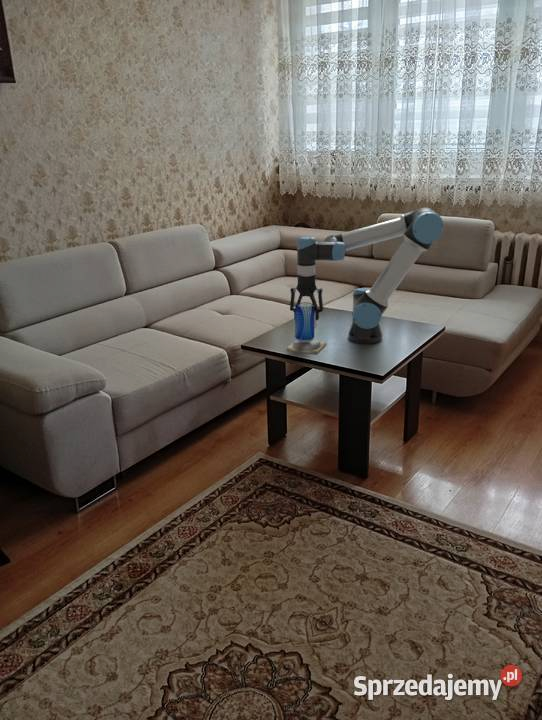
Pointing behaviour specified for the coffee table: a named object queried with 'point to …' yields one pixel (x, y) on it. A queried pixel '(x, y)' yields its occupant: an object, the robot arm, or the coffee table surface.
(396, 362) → the coffee table surface
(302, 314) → the beer can
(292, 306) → the robot arm
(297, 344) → the hub board
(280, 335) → the coffee table surface
